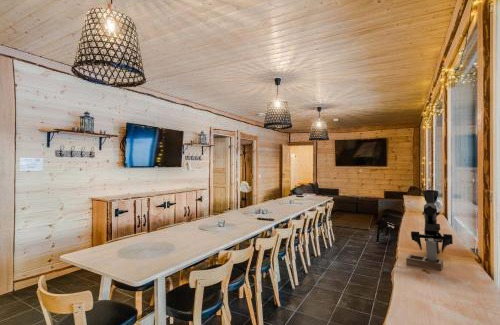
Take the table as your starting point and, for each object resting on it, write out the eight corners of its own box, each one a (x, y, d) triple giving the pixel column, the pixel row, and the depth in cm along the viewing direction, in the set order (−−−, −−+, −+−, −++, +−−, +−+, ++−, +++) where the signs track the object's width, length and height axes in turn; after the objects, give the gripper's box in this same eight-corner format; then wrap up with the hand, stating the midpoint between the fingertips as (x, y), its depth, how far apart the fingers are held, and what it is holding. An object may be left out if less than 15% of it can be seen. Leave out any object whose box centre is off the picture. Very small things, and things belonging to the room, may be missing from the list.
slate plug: (430, 264, 147) (428, 237, 147) (439, 266, 143) (437, 238, 143) (425, 265, 145) (423, 238, 145) (434, 268, 141) (432, 240, 141)
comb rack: (409, 260, 155) (409, 254, 155) (443, 266, 144) (442, 259, 144) (406, 264, 148) (406, 258, 148) (441, 270, 138) (440, 264, 138)
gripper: (410, 216, 153) (409, 241, 144) (451, 219, 142) (453, 245, 133) (412, 227, 159) (411, 251, 150) (451, 230, 149) (453, 257, 139)
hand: (431, 251), depth 143 cm, fingers open, 9 cm apart
